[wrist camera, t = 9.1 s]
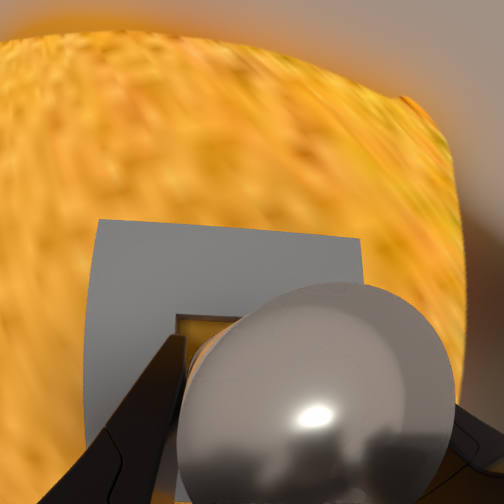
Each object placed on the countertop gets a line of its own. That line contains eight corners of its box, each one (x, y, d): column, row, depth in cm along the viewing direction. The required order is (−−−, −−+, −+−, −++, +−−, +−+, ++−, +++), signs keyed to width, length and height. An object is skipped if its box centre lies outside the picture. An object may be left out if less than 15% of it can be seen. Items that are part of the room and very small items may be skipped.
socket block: (337, 467, 17) (360, 483, 14) (105, 469, 15) (91, 489, 11) (336, 254, 22) (359, 238, 19) (112, 239, 20) (99, 219, 16)
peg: (214, 434, 13) (270, 591, 2) (172, 354, 14) (114, 369, 3) (295, 394, 14) (475, 445, 4) (256, 316, 15) (393, 236, 5)
